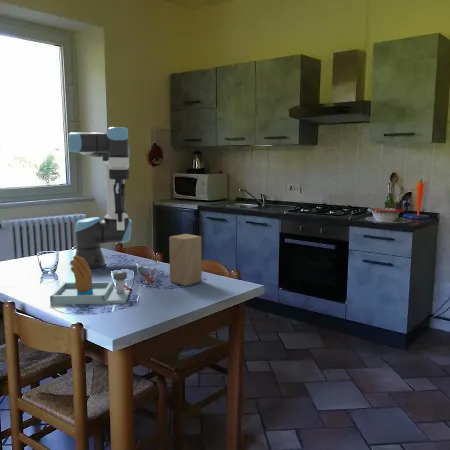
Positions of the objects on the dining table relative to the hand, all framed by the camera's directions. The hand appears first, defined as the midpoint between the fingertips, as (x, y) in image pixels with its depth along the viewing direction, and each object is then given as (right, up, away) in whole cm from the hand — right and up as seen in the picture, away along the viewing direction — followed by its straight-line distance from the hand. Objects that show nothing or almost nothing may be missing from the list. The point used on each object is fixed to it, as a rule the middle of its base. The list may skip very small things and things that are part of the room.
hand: (120, 229), depth 176 cm
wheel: (0, -19, -1) cm, 19 cm away
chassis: (-11, -26, -1) cm, 28 cm away
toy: (-14, -25, -1) cm, 29 cm away
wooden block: (+23, -23, +21) cm, 39 cm away
